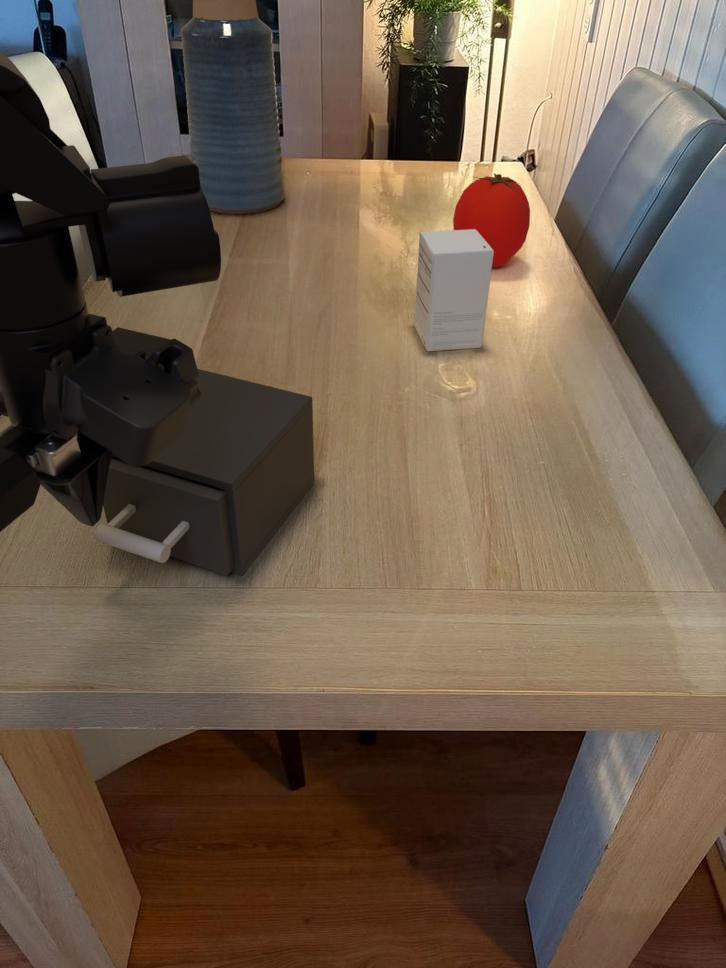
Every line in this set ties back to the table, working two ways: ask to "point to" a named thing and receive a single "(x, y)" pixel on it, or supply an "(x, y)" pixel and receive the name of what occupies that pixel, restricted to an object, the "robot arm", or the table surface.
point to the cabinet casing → (246, 455)
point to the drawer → (166, 517)
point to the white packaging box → (452, 289)
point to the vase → (233, 106)
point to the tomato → (495, 215)
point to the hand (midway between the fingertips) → (90, 522)
